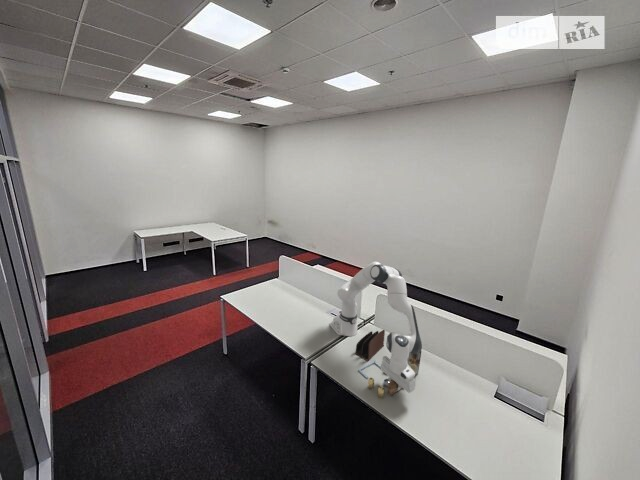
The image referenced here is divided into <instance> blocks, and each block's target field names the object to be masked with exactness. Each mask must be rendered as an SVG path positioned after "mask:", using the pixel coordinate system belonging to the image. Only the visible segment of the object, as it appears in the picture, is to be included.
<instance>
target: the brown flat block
mask: <svg viewBox="0 0 640 480" xmlns="http://www.w3.org/2000/svg"><path fill="white" fill-rule="evenodd" d="M396 386H398V384H397V383H396V382H395V381H394V380H393V381H391V382H390V383H388V387H386V388H387V389H386V393H387V394H388V395H389V396H393V394H395V393H396V392H398V390H397V389H396ZM401 389H403V388H402V387H401V388H400V390H401Z"/></svg>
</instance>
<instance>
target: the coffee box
mask: <svg viewBox="0 0 640 480" xmlns="http://www.w3.org/2000/svg"><path fill="white" fill-rule="evenodd" d="M421 357H422V350H421V351H420V352H419V353H417V354H412V353H409V357H408V359H407V361H408V365H409V366H410V367H411V369H412V370H413V371H414V372H415V375H418V374H419V371H420V365H421Z"/></svg>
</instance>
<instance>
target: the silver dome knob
mask: <svg viewBox="0 0 640 480" xmlns="http://www.w3.org/2000/svg"><path fill="white" fill-rule="evenodd" d="M390 382H391V381H390V378H385V379H384V380H383V385H384V388H387V387H388V383H390Z"/></svg>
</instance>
